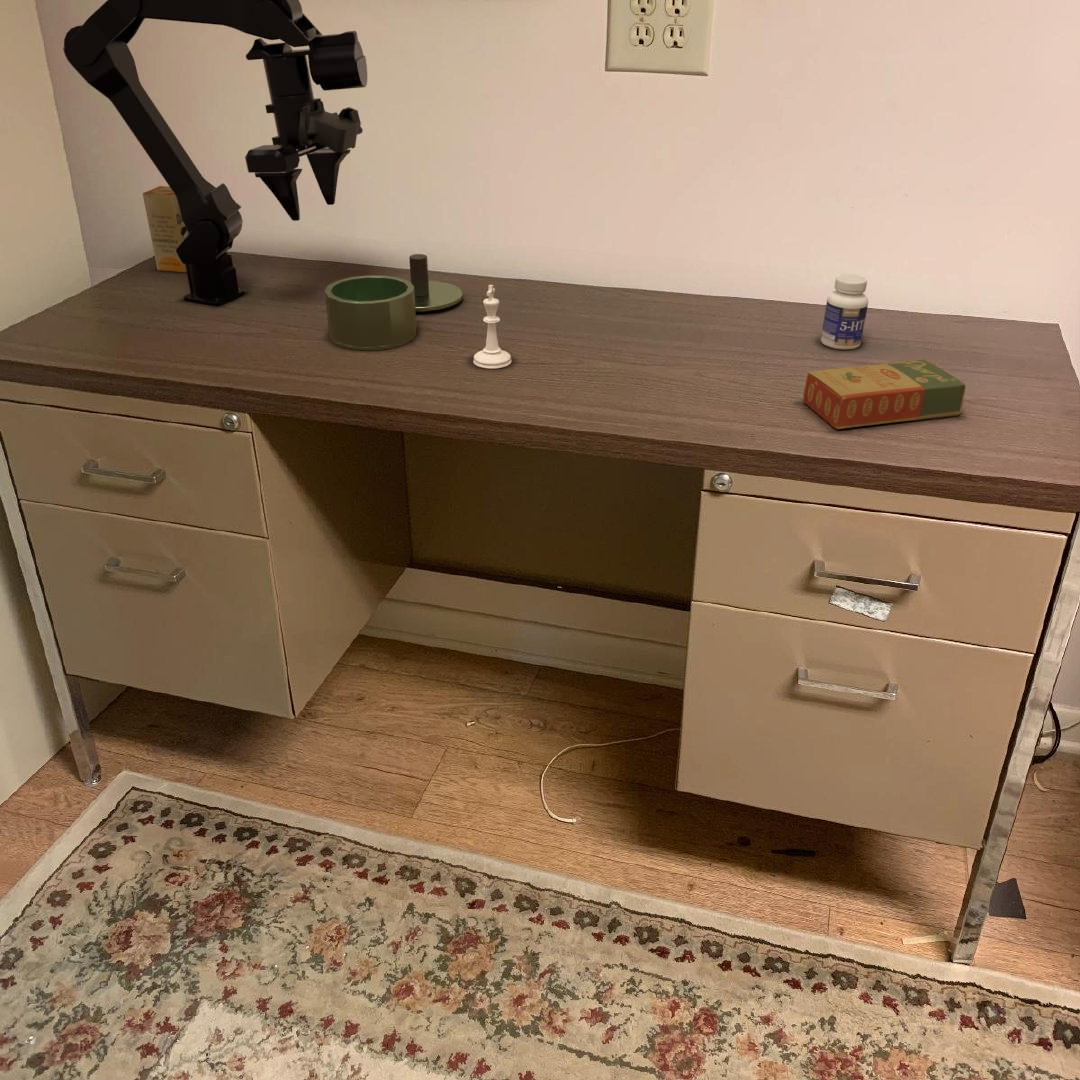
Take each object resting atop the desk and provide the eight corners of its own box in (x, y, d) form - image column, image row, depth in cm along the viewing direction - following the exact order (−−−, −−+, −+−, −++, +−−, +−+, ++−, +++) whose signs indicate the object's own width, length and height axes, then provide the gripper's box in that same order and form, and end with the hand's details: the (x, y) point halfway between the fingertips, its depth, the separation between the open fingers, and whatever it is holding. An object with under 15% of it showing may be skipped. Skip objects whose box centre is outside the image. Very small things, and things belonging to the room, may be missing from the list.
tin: (313, 342, 138) (307, 295, 134) (359, 316, 147) (355, 271, 143) (388, 356, 134) (384, 307, 130) (431, 327, 143) (428, 281, 139)
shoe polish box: (201, 263, 168) (188, 187, 162) (185, 272, 164) (171, 195, 158) (173, 261, 169) (159, 186, 163) (157, 270, 165) (142, 193, 159)
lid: (372, 314, 147) (368, 268, 144) (385, 287, 158) (382, 243, 154) (458, 316, 147) (456, 269, 143) (466, 288, 158) (464, 245, 154)
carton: (801, 403, 122) (806, 369, 120) (919, 389, 125) (926, 355, 123) (836, 432, 115) (842, 396, 113) (961, 416, 119) (969, 381, 116)
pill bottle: (838, 353, 135) (849, 287, 131) (812, 340, 139) (822, 275, 135) (869, 346, 137) (881, 281, 133) (842, 334, 141) (853, 270, 137)
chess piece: (516, 357, 134) (516, 281, 128) (503, 370, 130) (502, 293, 124) (481, 352, 135) (479, 277, 130) (467, 365, 131) (464, 289, 126)
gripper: (304, 102, 128) (328, 229, 136) (377, 81, 142) (395, 197, 150) (230, 105, 132) (257, 229, 139) (309, 84, 146) (329, 197, 154)
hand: (313, 212), depth 146 cm, fingers open, 9 cm apart
